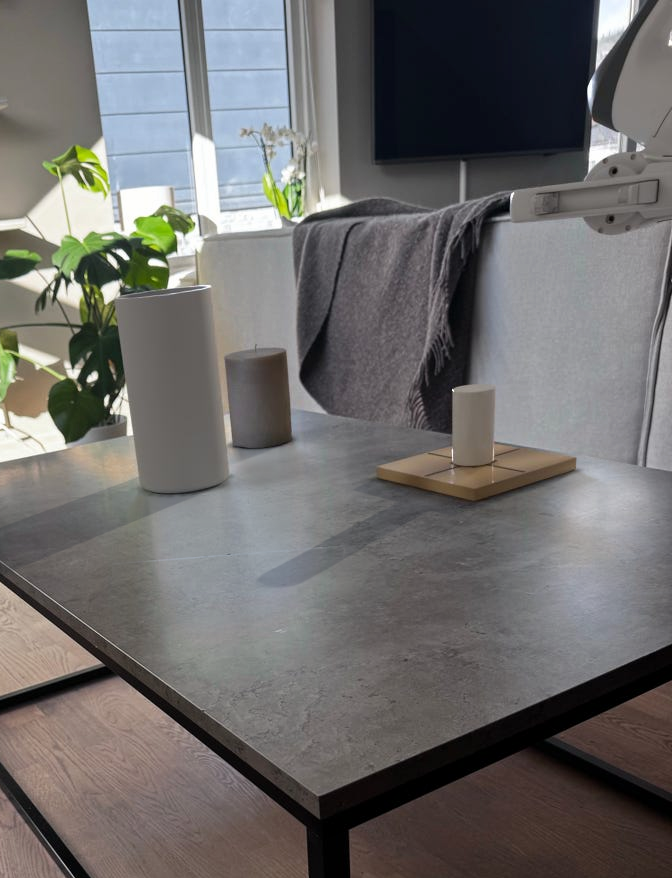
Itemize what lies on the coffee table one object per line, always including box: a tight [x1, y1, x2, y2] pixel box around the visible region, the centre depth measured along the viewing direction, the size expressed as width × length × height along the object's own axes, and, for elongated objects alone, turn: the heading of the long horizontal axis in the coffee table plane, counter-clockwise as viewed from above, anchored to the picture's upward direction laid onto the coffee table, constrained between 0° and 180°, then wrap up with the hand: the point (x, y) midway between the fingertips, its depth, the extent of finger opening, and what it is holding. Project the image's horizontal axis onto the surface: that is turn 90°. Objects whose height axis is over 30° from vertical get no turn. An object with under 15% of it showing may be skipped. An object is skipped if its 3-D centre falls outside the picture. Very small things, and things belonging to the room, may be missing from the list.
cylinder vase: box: [113, 285, 230, 494], centre depth 122 cm, size 12×12×25 cm
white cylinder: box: [451, 383, 496, 466], centre depth 113 cm, size 5×5×9 cm
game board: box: [375, 443, 577, 502], centre depth 115 cm, size 17×17×2 cm
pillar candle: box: [223, 343, 293, 449], centre depth 142 cm, size 10×10×15 cm
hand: (579, 200), depth 99 cm, fingers open, 8 cm apart
